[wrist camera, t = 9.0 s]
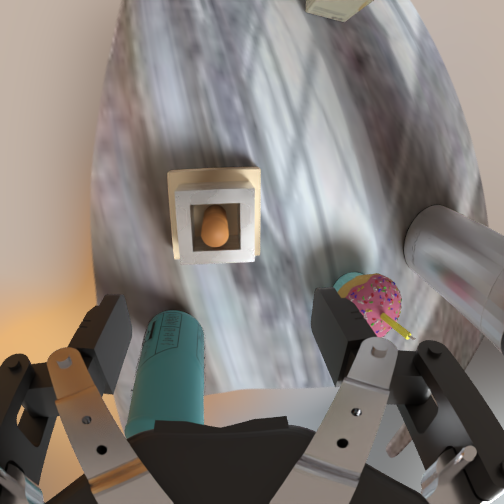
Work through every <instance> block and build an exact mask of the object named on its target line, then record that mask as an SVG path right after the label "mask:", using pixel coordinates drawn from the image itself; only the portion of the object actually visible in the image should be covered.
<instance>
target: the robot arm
mask: <svg viewBox="0 0 504 504" xmlns="http://www.w3.org/2000/svg"><path fill="white" fill-rule="evenodd" d="M404 255H405V259H406V263H407V264H408V266H409V268H410V269H411V270H412V271H414V272H415V273H416V274H417V275H418V276H420V277H421V278H422V279H423V280H424V281H425V282H427V283H428V284H429V285H430V286H431V287H432V288H433V289H435V290H436V291H437V292H438V293H439V294H440V295H441V296H442V297H444V298H445V299H446V300H447V301H448V302H449V303H450V304H451V305H453V306H454V307H455V308H456V309H457V310H458V311H459V312H460V313H461V314H462V315H463V316H464V317H466V318H467V319H468V320H469V321H470V322H471V323H472V324H473V325H474V326H475V327H476V328H477V329H478V330H479V331H480V332H481V333H482V334H483V335H484V336H486V337H487V338H488V339H489V340H490V341H491V342H492V343H493V344H494V345H495V346H496V347H497V349H499V351H500V352H502V354H503V355H504V236H503V235H502V234H500V233H498V232H496V231H494V230H492V229H490V228H488V227H486V226H484V225H482V224H480V223H478V222H476V221H474V220H472V219H470V218H468V217H466V216H464V215H462V214H460V213H458V212H456V211H454V210H451V209H449V208H447V207H444V206H442V205H434V206H430V207H428V208H426V209H424V210H423V211H422V212H421V213H419V214H418V216H417V217H416V218H415V219H414V221H413V222H412V224H411V226H410V228H409V230H408V232H407V235H406V239H405V245H404ZM311 328H312V332H313V335H314V337H315V340H316V342H317V344H318V347H319V349H320V351H321V354H322V356H323V359H324V361H325V363H326V366H327V368H328V370H329V373H330V375H331V378H332V380H333V383H334V385H335V387H340V389H339V390H338V392H337V394H336V396H335V398H334V400H333V402H332V404H331V406H330V408H329V410H328V412H327V414H326V415H325V417H324V419H323V421H322V423H321V425H320V426H319V428H318V430H317V432H315V431H313V430H310V429H308V428H304V427H300V426H294V425H288V421H287V416H282V417H273V418H263V419H253V420H249V421H246V422H242V423H238V424H234V425H231V426H227V427H222V428H218V427H212V426H207V425H202V424H197V423H193V422H188V421H165V420H155V424H154V429H151V430H146V431H143V432H140V433H137V434H135V435H133V436H131V437H129V438H128V439H126V438H125V437H124V435H123V433H122V432H121V430H120V429H119V427H118V425H117V424H116V422H115V420H114V419H113V417H112V415H111V413H110V412H109V410H108V408H107V406H106V405H105V403H104V401H103V399H102V396H103V393H104V394H114V390H115V387H116V384H117V381H118V377H119V374H120V371H121V368H122V365H123V362H124V359H125V356H126V353H127V350H128V347H129V344H130V341H131V338H132V325H131V321H130V317H129V313H128V309H127V304H126V300H125V297H124V295H122V294H107V295H105V297H104V298H103V300H102V302H101V303H100V305H99V306H95V307H93V308H92V309H91V310H90V311H88V312H87V314H86V316H85V317H84V319H83V322H81V324H80V326H79V328H78V329H77V331H76V333H75V334H74V336H73V338H72V340H71V342H70V344H69V345H68V347H65V348H61V349H59V350H56V351H55V352H53V353H52V354H51V355H50V356H49V358H48V361H47V362H45V363H38V364H31V363H30V361H29V359H28V357H27V356H26V355H24V354H14V355H11V356H10V357H8V358H7V359H5V361H4V362H3V363H2V365H1V366H0V504H489V503H491V502H492V501H494V500H495V499H497V498H498V497H499V496H500V495H502V494H503V493H504V430H503V428H502V427H501V425H500V423H499V422H498V420H497V419H496V417H495V416H494V414H493V412H492V411H491V409H490V408H489V406H488V405H487V403H486V402H485V400H484V399H483V397H482V396H481V394H480V393H479V391H478V390H477V388H476V387H475V386H474V384H473V383H472V381H471V380H470V378H469V377H468V376H467V374H466V373H465V371H464V370H463V369H462V367H461V366H460V364H459V363H458V362H457V360H456V359H455V358H454V356H453V355H452V354H451V352H450V351H449V350H448V348H447V347H446V346H445V345H443V344H441V343H440V342H437V341H433V340H426V341H423V342H421V343H420V344H419V346H418V348H417V350H416V351H400V350H397V347H396V346H395V345H394V344H393V343H392V342H391V341H389V340H387V339H385V338H381V337H377V335H376V334H375V332H374V331H373V330H372V328H371V327H370V325H369V324H368V322H367V321H366V319H364V316H363V315H362V314H361V312H360V311H359V309H358V308H357V306H356V305H355V304H354V303H353V302H351V301H350V300H348V299H347V298H341V297H340V295H339V294H338V292H337V291H336V289H335V288H334V287H329V288H317V289H316V290H315V294H314V301H313V309H312V316H311ZM431 393H432V395H433V396H434V398H435V400H436V402H437V404H438V407H437V405H436V403H435V402H434V400H433V398H432V396H431ZM386 404H396V405H397V407H398V409H399V411H400V413H401V415H402V417H403V420H404V422H405V424H406V426H407V429H408V431H409V433H410V435H411V438H412V440H413V442H414V444H415V447H416V449H417V451H418V454H419V456H420V458H421V461H422V463H423V465H424V468H425V470H426V471H425V472H424V474H423V476H422V480H421V486H422V489H421V493H422V495H421V494H420V493H418V492H417V491H415V490H413V489H411V488H409V487H407V486H405V485H403V484H402V483H400V482H398V481H396V480H394V479H392V478H391V477H389V476H387V475H385V474H384V473H381V472H380V471H378V470H376V469H375V468H373V467H372V466H370V465H368V464H366V460H367V458H368V455H369V453H370V450H371V447H372V445H373V442H374V439H375V436H376V434H377V431H378V428H379V425H380V422H381V419H382V416H383V413H384V410H385V407H386ZM21 405H22V406H23V407H24V408H25V409H24V411H23V414H22V416H21V419H20V422H19V424H18V426H17V420H16V419H17V414H18V412H19V410H20V407H21ZM57 416H60V418H61V421H62V423H63V426H64V429H65V431H66V433H67V435H68V438H69V441H70V443H71V445H72V448H73V450H74V452H75V454H76V457H77V459H78V461H79V463H80V465H81V467H82V469H83V471H84V474H83V475H82V476H80V477H79V478H78V479H76V480H75V481H74V482H73V483H71V484H70V485H69V486H67V487H66V488H65V489H63V490H62V491H61V492H60V493H58V494H57V495H56V496H54V497H53V498H52V499H50V500H49V501H47V502H46V503H45V502H44V501H43V494H42V491H41V489H40V488H39V481H40V477H41V472H42V468H43V464H44V460H45V456H46V452H47V449H48V445H49V441H50V438H51V434H52V431H53V428H54V425H55V421H56V418H57Z"/></svg>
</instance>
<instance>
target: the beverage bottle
mask: <svg viewBox="0 0 504 504" xmlns="http://www.w3.org/2000/svg"><path fill="white" fill-rule="evenodd" d="M149 322H150V321H149ZM202 329H203V328H201V325H200V324H199V322H198V321H197V320H196V319H195V318H194V317H192V316H191V315H189V314H187V313H185V312H182V311H176V310H169V311H164V312H161V313H159V314H158V315H156V316H155V317H153V318H152V320H151V322H150V323H149V326H148V329H146V330H147V333H146V331H145V334H146V337H145V335H144V337H145V339H143V341H144V342H143V343H142V346H143V347H141V348H142V349H141V350H142V352H141V351H140V352H141V357H140V361H139V365H138V364H137V365H138V369H137V368H136V370H137V372H135V375H136V378H135V383H134V387H133V390H132V389H131V390H132V391H133V394H132V399H131V404H130V410H129V415H128V420H127V424H126V426H125V436H126V438H127V439H128V438H129V437H131V436H133V435H135V434H137V433H140V432H143V431H146V430H151V429H154V424H155V420H165V421H188V422H193V423H197V424H202V425H204V407H203V390H204V368H205V367H204V359H205V357H204V334H205V333H204V334H203V331H204V330H202ZM143 344H144V345H143ZM139 356H140V354H139ZM138 360H139V359H138ZM136 367H137V366H136ZM136 373H137V374H136ZM134 377H135V376H134ZM133 380H134V379H133ZM205 381H206V380H205ZM205 387H206V386H205ZM204 393H205V392H204Z"/></svg>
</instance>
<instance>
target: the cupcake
mask: <svg viewBox="0 0 504 504" xmlns="http://www.w3.org/2000/svg"><path fill="white" fill-rule="evenodd" d="M333 287H334V288H335V289H336V291H337V292H338V294H339V295H340V297H341V298H347V299H348V300H350V301H351V302H353V303H354V304H355V305H356V306H357V308H358V309H359V311H360V312H361V314H362V315H363V316H364V319H366V321H367V322H368V324H369V325H370V327H371V328H372V330H373V331H374V332H375V334H376V335H377V337H381V338H382V337H385V334H387V333H388V332H389V330H390V329H392V328H393V329H394V330H396V331H397V332H398V333H399V334H401V335H402V336H403V337H404V338H405V339H409V338H411V339H412V340H415V339H416V338H413V337H412V336H411V333H410V332H408V331H407V330H406V329H405V328H403V327H402V326H401V325H399V324H398V323H397V322H396V321H397V320H398V317H399V314H400V312H401V311H400V310H401V308H402V307H401V301H402V298H401V295H400V291H399V290H398V288H397V286H396V285H395V283H394V282H393V281H392V280H391V279H389V278H387V277H385V276H383V275H381V274H378V273H375V274H367V275H364V274H361V273H358V272H351V273H347V274H345V275H343V276H342V277H340V278H339V279H338V280H337V281H336V283H335V284H334V286H333Z"/></svg>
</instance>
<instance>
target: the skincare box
mask: <svg viewBox="0 0 504 504" xmlns="http://www.w3.org/2000/svg"><path fill="white" fill-rule="evenodd" d="M372 1H374V0H306V12H307V13H311V14H315V15H318V16H322V17H326V18H330V19H334V20H338V21H342V22H346V21H347V20H348V19H350V18H351V17H352V16H353V15H355V14H356V13H357V12H359V11H360V10H361V9H363V8H364V7H365V6H367V5H368V4H369V3H371V2H372Z"/></svg>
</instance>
